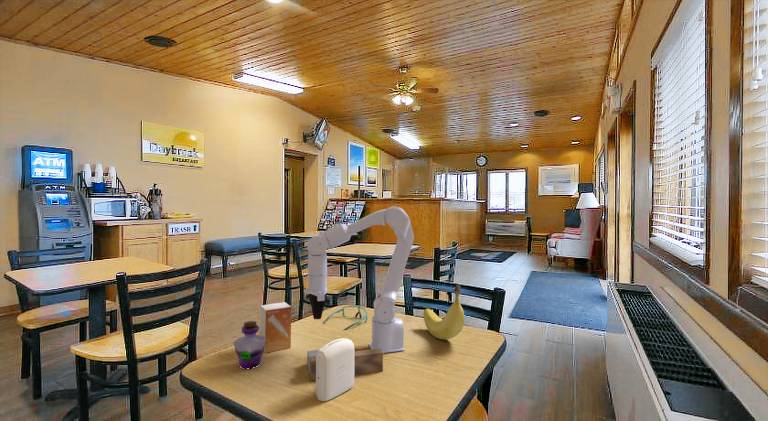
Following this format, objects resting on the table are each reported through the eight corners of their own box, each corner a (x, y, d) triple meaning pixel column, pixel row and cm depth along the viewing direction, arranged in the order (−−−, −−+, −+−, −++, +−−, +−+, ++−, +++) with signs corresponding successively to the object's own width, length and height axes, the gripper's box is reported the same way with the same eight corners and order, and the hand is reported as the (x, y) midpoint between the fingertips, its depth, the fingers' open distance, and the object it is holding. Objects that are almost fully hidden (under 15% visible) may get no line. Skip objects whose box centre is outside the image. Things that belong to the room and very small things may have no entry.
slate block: (328, 362, 107) (329, 348, 107) (333, 373, 100) (333, 358, 100) (307, 365, 105) (307, 350, 105) (310, 376, 98) (310, 361, 98)
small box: (265, 353, 112) (265, 310, 111) (259, 346, 117) (259, 305, 117) (291, 348, 116) (291, 306, 116) (284, 341, 122) (284, 301, 121)
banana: (418, 328, 135) (419, 273, 135) (432, 326, 137) (433, 272, 137) (452, 352, 114) (453, 286, 114) (468, 349, 116) (469, 285, 116)
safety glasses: (374, 321, 143) (373, 309, 143) (347, 336, 131) (346, 322, 131) (347, 314, 152) (346, 302, 151) (319, 327, 140) (318, 314, 140)
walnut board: (379, 366, 104) (379, 348, 104) (382, 371, 101) (382, 352, 101) (309, 375, 98) (309, 356, 98) (311, 380, 95) (311, 361, 95)
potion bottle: (233, 374, 98) (233, 328, 98) (233, 361, 106) (233, 318, 106) (267, 369, 102) (267, 325, 101) (265, 356, 110) (265, 315, 109)
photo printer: (325, 404, 85) (325, 349, 84) (312, 397, 87) (313, 344, 87) (357, 387, 92) (357, 337, 92) (344, 381, 95) (345, 333, 95)
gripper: (301, 270, 121) (301, 312, 121) (307, 280, 107) (307, 327, 107) (323, 269, 123) (323, 311, 123) (331, 278, 109) (331, 325, 110)
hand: (317, 318), depth 115 cm, fingers closed
